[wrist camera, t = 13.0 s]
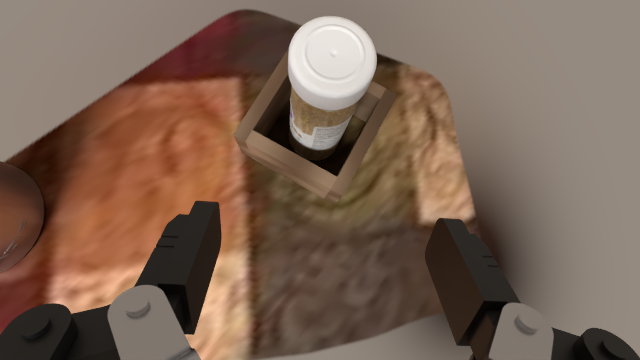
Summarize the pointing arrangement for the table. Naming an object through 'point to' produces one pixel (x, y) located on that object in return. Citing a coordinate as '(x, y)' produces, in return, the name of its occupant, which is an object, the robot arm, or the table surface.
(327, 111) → the sprinkles bottle
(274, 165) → the open square sleeve
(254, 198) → the table surface
